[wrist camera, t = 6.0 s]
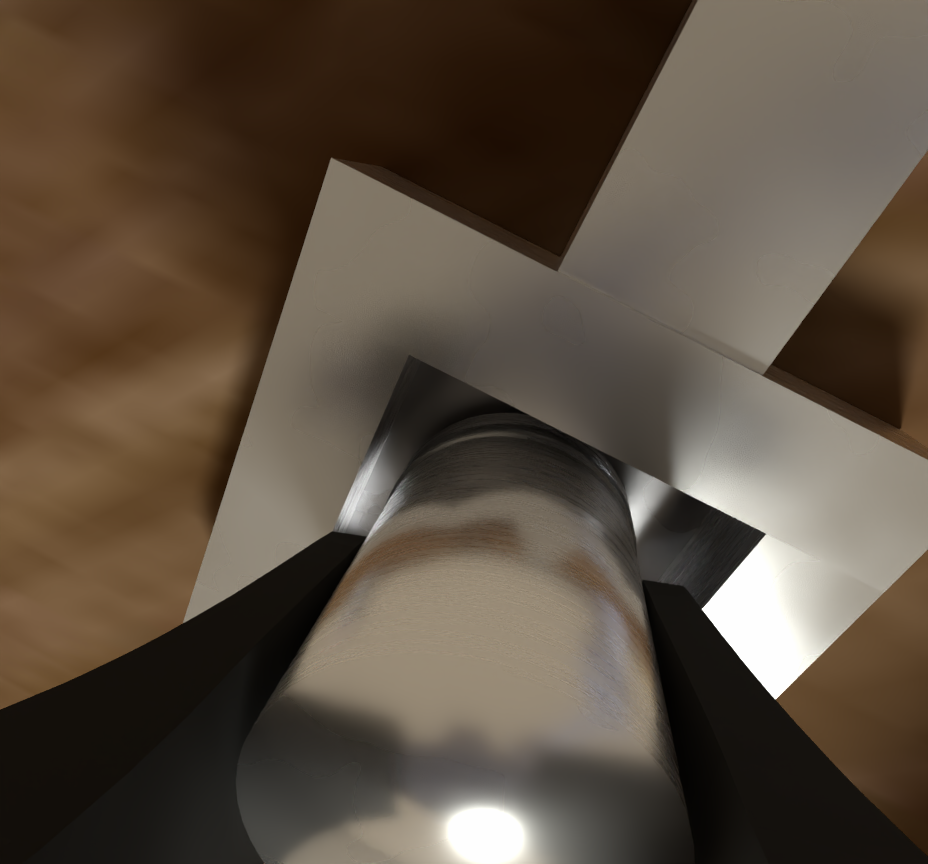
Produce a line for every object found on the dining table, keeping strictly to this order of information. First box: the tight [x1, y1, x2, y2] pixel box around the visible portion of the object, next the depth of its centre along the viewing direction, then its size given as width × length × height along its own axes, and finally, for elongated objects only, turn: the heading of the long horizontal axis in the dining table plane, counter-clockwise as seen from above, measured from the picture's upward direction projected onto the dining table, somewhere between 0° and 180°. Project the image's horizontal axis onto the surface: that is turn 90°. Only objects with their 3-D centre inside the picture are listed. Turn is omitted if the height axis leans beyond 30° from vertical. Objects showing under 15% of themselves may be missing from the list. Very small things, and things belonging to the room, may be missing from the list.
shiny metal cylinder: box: [236, 413, 695, 864], centre depth 8 cm, size 4×4×6 cm
